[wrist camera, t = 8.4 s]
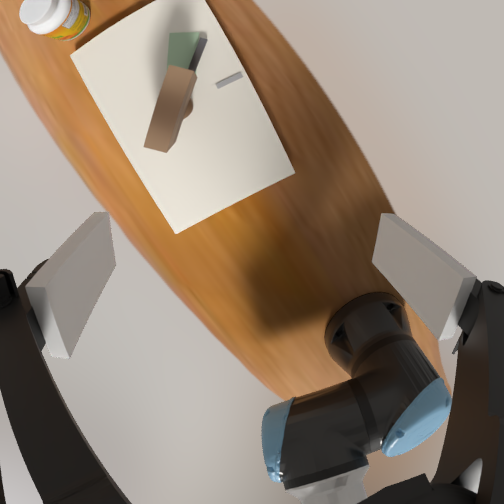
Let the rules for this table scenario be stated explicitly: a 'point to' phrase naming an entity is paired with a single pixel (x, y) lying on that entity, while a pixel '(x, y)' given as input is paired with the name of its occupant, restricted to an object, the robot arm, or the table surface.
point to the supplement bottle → (55, 17)
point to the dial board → (195, 125)
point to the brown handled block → (173, 103)
